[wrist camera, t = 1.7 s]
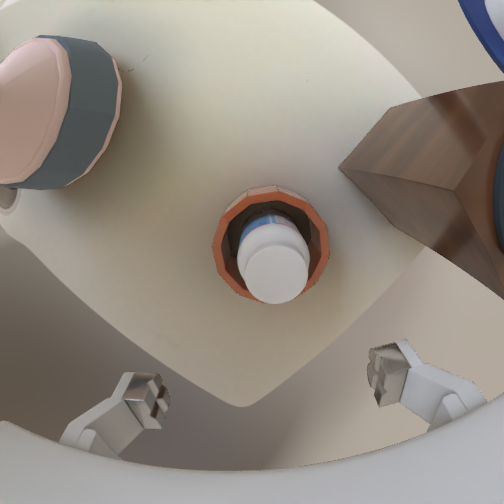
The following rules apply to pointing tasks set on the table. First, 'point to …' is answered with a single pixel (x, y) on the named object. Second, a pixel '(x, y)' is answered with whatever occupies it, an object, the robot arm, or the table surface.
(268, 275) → the pill bottle
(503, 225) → the coaster
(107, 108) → the desk lamp
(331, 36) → the table surface
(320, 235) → the desk pot
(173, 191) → the table surface
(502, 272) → the riser
